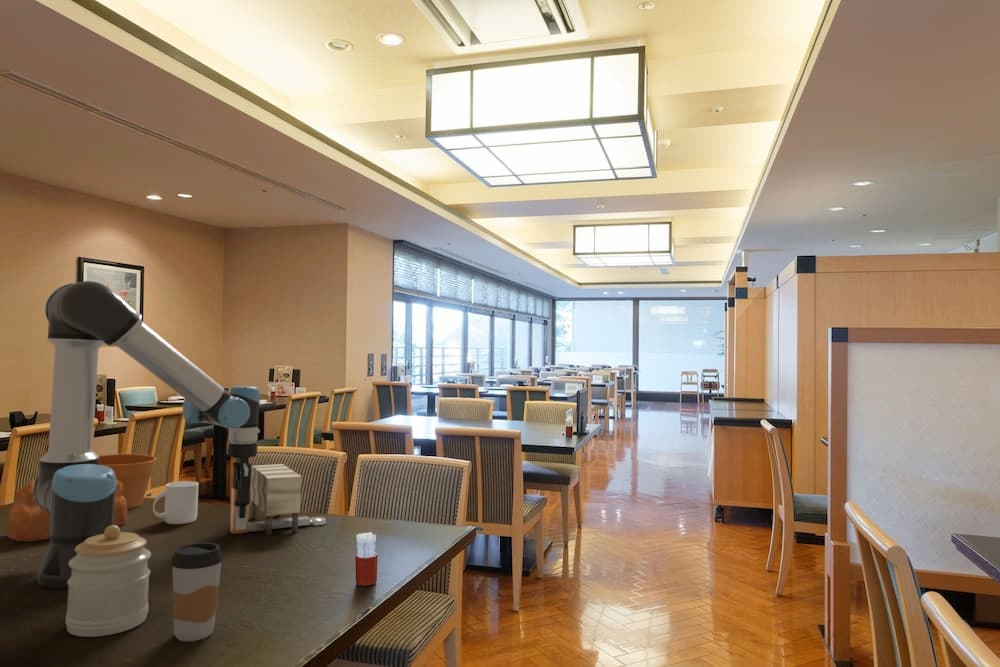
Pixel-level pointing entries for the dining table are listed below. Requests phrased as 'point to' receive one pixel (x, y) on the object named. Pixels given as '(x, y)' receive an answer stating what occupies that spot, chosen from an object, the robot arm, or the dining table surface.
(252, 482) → the cabinet
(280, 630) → the dining table surface
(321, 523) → the token
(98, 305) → the robot arm
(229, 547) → the dining table surface
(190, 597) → the coffee cup
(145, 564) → the jar
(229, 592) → the dining table surface
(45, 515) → the bread
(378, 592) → the dining table surface
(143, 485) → the flower pot
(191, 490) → the mug
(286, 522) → the grey l-shaped rod
